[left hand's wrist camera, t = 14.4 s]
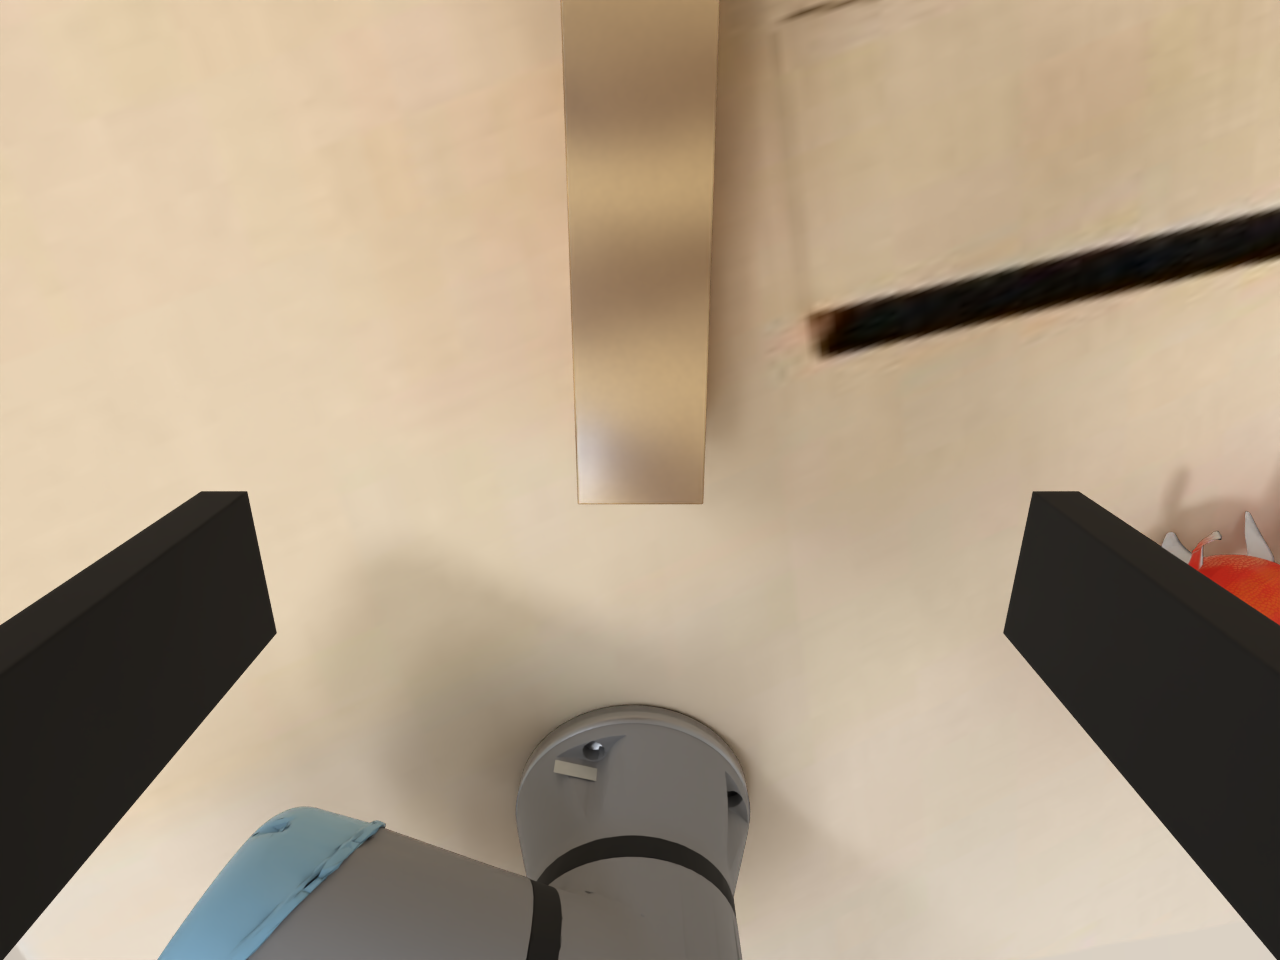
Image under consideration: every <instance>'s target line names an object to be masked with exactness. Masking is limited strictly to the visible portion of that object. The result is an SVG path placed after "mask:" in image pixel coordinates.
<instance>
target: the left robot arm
mask: <svg viewBox="0 0 1280 960" xmlns="http://www.w3.org/2000/svg"><path fill="white" fill-rule="evenodd" d="M276 633H277V632H276V628H275V623H274V618H273V613H272V608H271V604H270V599H269V594H268V589H267V584H266V580H265V575H264V570H263V565H262V560H261V556H260V551H259V546H258V541H257V536H256V532H255V527H254V522H253V517H252V512H251V507H250V503H249V498H248V493H247V491H201V492H200V493H198V494H197V495H195V496H194V497H192V498H191V499H189V500H188V501H186V502H185V503H183V504H182V505H180V506H179V507H177V508H176V509H174V510H173V511H171V512H170V513H168V514H167V515H165V516H164V517H162V518H161V519H159V520H158V521H156V522H155V523H153V524H152V525H150V526H149V527H147V528H146V529H144V530H143V531H141V532H140V533H138V534H137V535H135V536H134V537H132V538H131V539H129V540H128V541H126V542H125V543H123V544H122V545H120V546H119V547H117V548H116V549H114V550H113V551H111V552H110V553H108V554H107V555H105V556H104V557H102V558H101V559H99V560H98V561H96V562H95V563H93V564H92V565H90V566H89V567H87V568H86V569H84V570H83V571H81V572H80V573H78V574H77V575H75V576H74V577H72V578H71V579H69V580H68V581H66V582H65V583H63V584H62V585H60V586H59V587H57V588H56V589H54V590H53V591H51V592H50V593H48V594H47V595H45V596H44V597H42V598H41V599H39V600H38V601H36V602H35V603H33V604H32V605H30V606H29V607H27V608H26V609H24V610H23V611H21V612H20V613H18V614H17V615H15V616H14V617H12V618H11V619H9V620H8V621H6V622H5V623H3V624H2V625H0V960H3V959H4V958H5V957H6V956H7V954H8V953H9V952H10V951H11V949H12V948H13V947H14V946H15V945H16V944H17V942H18V941H19V940H20V939H21V938H22V936H23V935H24V934H25V933H26V932H27V930H28V929H29V928H30V927H31V926H32V925H33V923H34V922H35V921H36V920H37V919H38V917H39V916H40V915H41V914H42V913H43V911H44V910H45V909H46V908H47V907H48V905H49V904H50V903H51V902H52V901H53V899H54V898H55V897H56V896H57V895H58V893H59V892H60V891H61V890H62V889H63V888H64V886H65V885H66V884H67V883H68V882H69V880H70V879H71V878H72V877H73V876H74V874H75V873H76V872H77V871H78V870H79V868H80V867H81V866H82V865H83V864H84V862H85V861H86V860H87V859H88V858H89V856H90V855H91V854H92V853H93V852H94V851H95V849H96V848H97V847H98V846H99V845H100V843H101V842H102V841H103V840H104V839H105V837H106V836H107V835H108V834H109V833H110V831H111V830H112V829H113V828H114V827H115V825H116V824H117V823H118V822H119V821H120V819H121V818H122V817H123V816H124V815H125V814H126V812H127V811H128V810H129V809H130V808H131V806H132V805H133V804H134V803H135V802H136V800H137V799H138V798H139V797H140V796H141V794H142V793H143V792H144V791H145V790H146V788H147V787H148V786H149V785H150V784H151V782H152V781H153V780H154V779H155V778H156V777H157V775H158V774H159V773H160V772H161V771H162V769H163V768H164V767H165V766H166V765H167V763H168V762H169V761H170V760H171V759H172V757H173V756H174V755H175V754H176V753H177V751H178V750H179V749H180V748H181V747H182V745H183V744H184V743H185V742H186V741H187V740H188V738H189V737H190V736H191V735H192V734H193V732H194V731H195V730H196V729H197V728H198V726H199V725H200V724H201V723H202V722H203V720H204V719H205V718H206V717H207V716H208V714H209V713H210V712H211V711H212V710H213V708H214V707H215V706H216V705H217V704H218V702H219V701H220V700H221V699H222V698H223V697H224V695H225V694H226V693H227V692H228V691H229V689H230V688H231V687H232V686H233V685H234V683H235V682H236V681H237V680H238V679H239V677H240V676H241V675H242V674H243V673H244V671H245V670H246V669H247V668H248V667H249V665H250V664H251V663H252V662H253V661H254V660H255V658H256V657H257V656H258V655H259V654H260V652H261V651H262V650H263V649H264V648H265V646H266V645H267V644H268V643H269V642H270V640H271V639H272V638H273V637H274V636H275V634H276ZM1003 633H1004V634H1005V636H1006V637H1007V638H1008V639H1009V640H1010V642H1011V643H1012V644H1013V645H1014V646H1015V648H1016V649H1017V650H1018V651H1019V652H1020V654H1021V655H1022V656H1023V657H1024V658H1025V660H1026V661H1027V662H1028V663H1029V664H1030V665H1031V667H1032V668H1033V669H1034V670H1035V671H1036V673H1037V674H1038V675H1039V676H1040V677H1041V679H1042V680H1043V681H1044V682H1045V683H1046V685H1047V686H1048V687H1049V688H1050V689H1051V691H1052V692H1053V693H1054V694H1055V695H1056V697H1057V698H1058V699H1059V700H1060V701H1061V703H1062V704H1063V705H1064V706H1065V707H1066V708H1067V710H1068V711H1069V712H1070V713H1071V714H1072V716H1073V717H1074V718H1075V719H1076V720H1077V722H1078V723H1079V724H1080V725H1081V726H1082V728H1083V729H1084V730H1085V731H1086V732H1087V734H1088V735H1089V736H1090V737H1091V738H1092V740H1093V741H1094V742H1095V743H1096V744H1097V745H1098V747H1099V748H1100V749H1101V750H1102V751H1103V753H1104V754H1105V755H1106V756H1107V757H1108V759H1109V760H1110V761H1111V762H1112V763H1113V765H1114V766H1115V767H1116V768H1117V769H1118V771H1119V772H1120V773H1121V774H1122V775H1123V777H1124V778H1125V779H1126V780H1127V781H1128V782H1129V784H1130V785H1131V786H1132V787H1133V788H1134V790H1135V791H1136V792H1137V793H1138V794H1139V796H1140V797H1141V798H1142V799H1143V800H1144V802H1145V803H1146V804H1147V805H1148V806H1149V808H1150V809H1151V810H1152V811H1153V812H1154V814H1155V815H1156V816H1157V817H1158V818H1159V819H1160V821H1161V822H1162V823H1163V824H1164V825H1165V827H1166V828H1167V829H1168V830H1169V831H1170V833H1171V834H1172V835H1173V836H1174V837H1175V839H1176V840H1177V841H1178V842H1179V843H1180V845H1181V846H1182V847H1183V848H1184V849H1185V851H1186V852H1187V853H1188V854H1189V855H1190V856H1191V858H1192V859H1193V860H1194V861H1195V862H1196V864H1197V865H1198V866H1199V867H1200V868H1201V870H1202V871H1203V872H1204V873H1205V874H1206V876H1207V877H1208V878H1209V879H1210V880H1211V882H1212V883H1213V884H1214V885H1215V886H1216V888H1217V889H1218V890H1219V891H1220V892H1221V893H1222V895H1223V896H1224V897H1225V898H1226V899H1227V901H1228V902H1229V903H1230V904H1231V905H1232V907H1233V908H1234V909H1235V910H1236V911H1237V913H1238V914H1239V915H1240V916H1241V917H1242V919H1243V920H1244V921H1245V922H1246V923H1247V924H1248V926H1249V927H1250V928H1251V929H1252V930H1253V932H1254V933H1255V934H1256V935H1257V936H1258V938H1259V939H1260V940H1261V941H1262V942H1263V944H1264V945H1265V946H1266V947H1267V948H1268V950H1269V951H1270V952H1271V953H1272V954H1273V956H1274V957H1275V958H1276V959H1277V960H1280V625H1278V624H1277V623H1275V622H1274V621H1272V620H1271V619H1269V618H1268V617H1266V616H1265V615H1263V614H1262V613H1260V612H1259V611H1257V610H1256V609H1254V608H1253V607H1251V606H1250V605H1248V604H1247V603H1245V602H1244V601H1242V600H1241V599H1239V598H1238V597H1236V596H1235V595H1233V594H1232V593H1230V592H1229V591H1227V590H1226V589H1224V588H1223V587H1221V586H1220V585H1218V584H1217V583H1215V582H1214V581H1212V580H1211V579H1209V578H1208V577H1206V576H1205V575H1203V574H1202V573H1200V572H1199V571H1197V570H1196V569H1194V568H1193V567H1191V566H1190V565H1188V564H1187V563H1185V562H1184V561H1182V560H1181V559H1179V558H1178V557H1176V556H1175V555H1173V554H1172V553H1170V552H1169V551H1167V550H1166V549H1164V548H1163V547H1161V546H1160V545H1158V544H1157V543H1155V542H1154V541H1152V540H1151V539H1149V538H1148V537H1146V536H1145V535H1143V534H1142V533H1140V532H1139V531H1137V530H1136V529H1134V528H1133V527H1131V526H1130V525H1128V524H1127V523H1125V522H1124V521H1122V520H1121V519H1119V518H1118V517H1116V516H1115V515H1113V514H1112V513H1110V512H1109V511H1107V510H1106V509H1104V508H1103V507H1101V506H1100V505H1098V504H1097V503H1095V502H1094V501H1092V500H1091V499H1089V498H1088V497H1086V496H1085V495H1083V494H1082V493H1080V492H1079V491H1033V493H1032V498H1031V503H1030V507H1029V512H1028V517H1027V522H1026V527H1025V531H1024V536H1023V541H1022V546H1021V551H1020V556H1019V560H1018V565H1017V570H1016V575H1015V580H1014V584H1013V589H1012V594H1011V599H1010V604H1009V608H1008V613H1007V618H1006V623H1005V628H1004V632H1003ZM516 821H517V829H518V835H519V840H520V845H521V850H522V855H523V860H524V865H525V870H526V876H527V877H524V876H521V875H518V874H515V873H512V872H509V871H506V870H503V869H500V868H497V867H494V866H491V865H488V864H485V863H482V862H479V861H476V860H473V859H471V858H468V857H465V856H462V855H459V854H456V853H454V852H451V851H448V850H445V849H442V848H439V847H436V846H434V845H431V844H428V843H425V842H422V841H419V840H417V839H414V838H411V837H408V836H405V835H402V834H400V833H397V832H394V831H391V830H388V829H385V826H386V824H385V823H383V822H381V821H377V820H376V821H373V822H371V823H368V822H364V821H361V820H357V819H354V818H350V817H346V816H343V815H339V814H336V813H332V812H329V811H325V810H321V809H318V808H313V807H297V808H292V809H289V810H286V811H284V812H282V813H280V814H278V815H276V816H274V817H273V818H271V819H270V820H269V821H267V822H266V823H265V824H263V825H262V826H261V827H260V828H259V829H258V830H257V831H256V832H255V833H254V834H253V835H252V836H251V837H250V838H249V839H248V840H247V841H246V842H245V843H244V845H243V846H242V847H241V848H240V849H239V850H238V851H237V853H236V854H235V855H234V856H233V857H232V859H231V860H230V861H229V862H228V863H227V865H226V866H225V867H224V868H223V870H222V871H221V872H220V873H219V875H218V876H217V877H216V879H215V880H214V881H213V883H212V884H211V885H210V887H209V888H208V889H207V890H206V892H205V893H204V894H203V896H202V897H201V898H200V900H199V901H198V902H197V904H196V905H195V907H194V908H193V909H192V911H191V912H190V913H189V915H188V916H187V918H186V919H185V920H184V922H183V923H182V925H181V926H180V928H179V929H178V930H177V932H176V933H175V935H174V936H173V938H172V939H171V940H170V942H169V943H168V945H167V946H166V948H165V949H164V951H163V952H162V954H161V955H160V957H159V958H158V960H742V954H741V947H740V940H739V933H738V926H737V921H736V913H735V905H734V892H735V888H736V884H737V879H738V875H739V870H740V866H741V861H742V857H743V852H744V848H745V843H746V839H747V834H748V829H749V821H750V804H749V797H748V792H747V786H746V781H745V777H744V773H743V770H742V767H741V765H740V763H739V761H738V759H737V757H736V756H735V754H734V753H733V751H732V750H731V748H730V747H729V746H728V745H727V744H726V742H725V741H724V740H723V739H722V738H721V737H720V736H719V735H717V734H716V733H715V732H714V731H712V730H711V729H710V728H708V727H707V726H705V725H704V724H702V723H700V722H698V721H696V720H695V719H693V718H690V717H688V716H686V715H683V714H681V713H678V712H674V711H671V710H667V709H663V708H658V707H651V706H640V705H624V706H614V707H608V708H602V709H598V710H595V711H591V712H588V713H585V714H582V715H580V716H578V717H575V718H573V719H571V720H569V721H567V722H566V723H564V724H562V725H561V726H559V727H558V728H556V729H555V730H554V731H552V732H551V733H550V734H549V735H548V736H546V737H545V738H544V739H543V740H542V741H541V742H540V744H539V745H538V746H537V747H536V748H535V750H534V751H533V753H532V754H531V756H530V757H529V759H528V761H527V763H526V765H525V768H524V770H523V774H522V777H521V782H520V787H519V791H518V796H517V803H516Z"/></svg>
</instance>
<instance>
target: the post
mask: <svg viewBox="0 0 1280 960" xmlns="http://www.w3.org/2000/svg"><path fill="white" fill-rule="evenodd" d="M719 8H720V0H561V27H562V56H563V85H564V114H565V144H566V173H567V202H568V232H569V261H570V290H571V319H572V349H573V378H574V407H575V437H576V466H577V495H578V504H703V496H704V465H705V435H706V404H707V374H708V343H709V313H710V282H711V252H712V221H713V191H714V160H715V130H716V99H717V69H718V38H719Z"/></svg>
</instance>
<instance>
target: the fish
mask: <svg viewBox="0 0 1280 960" xmlns="http://www.w3.org/2000/svg"><path fill="white" fill-rule="evenodd" d="M1217 539H1218V540H1221V539H1222V536H1221V534H1220V533H1219V531H1214V532H1213V533H1212V534H1211V535H1209V536H1208V537H1206V538H1205V539H1203V540H1202V541H1201V542H1199V543H1198V545H1197V547H1196V548H1195V549H1194V550H1193V551H1192V553H1191V552H1190V551H1188V550H1187V549H1186V548H1185V547H1184V546H1183V545H1182V544H1181V542H1180V541H1179V539H1178V538H1177V536H1176V534H1175V533H1173V532H1169V533H1167V534H1166V536H1165V538H1164V541H1163V544H1162V546H1161V547H1163V548H1164V549H1166V550H1167V551H1169V552H1170V553H1172V554H1173V555H1175V556H1176V557H1178V558H1179V559H1181V560H1182V561H1184V562H1185V563H1187V564H1188V565H1190V566H1191V567H1193V568H1194V569H1196V570H1197V571H1199V572H1200V573H1202V574H1203V575H1205V576H1206V577H1208V578H1209V579H1211V580H1212V581H1214V582H1215V583H1217V584H1218V585H1220V586H1221V587H1223V588H1224V589H1226V590H1227V591H1229V592H1230V593H1232V594H1233V595H1235V596H1236V597H1238V598H1239V599H1241V600H1242V601H1244V602H1245V603H1247V604H1248V605H1250V606H1251V607H1253V608H1254V609H1256V610H1257V611H1259V612H1260V613H1262V614H1263V615H1265V616H1266V617H1268V618H1269V619H1271V620H1272V621H1274V622H1275V623H1277V624H1278V625H1280V565H1279V564H1277V563H1275V562H1274V556H1273V554H1272V552H1271V550H1270V548H1269V547H1268V545H1267V544H1266V542H1265V540H1264V539H1263V537H1262V535H1261V533H1260V532H1259V530H1258V528H1257V526H1256V524H1255V522H1254V520H1253V518H1252V516H1251V514H1250V513H1249V512H1245V539H1246V545H1247V552H1248V556H1246V555H1214V556H1208V557H1203V546H1204V545H1205V544H1207V543H1209V542H1212V541H1214V540H1217Z"/></svg>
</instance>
